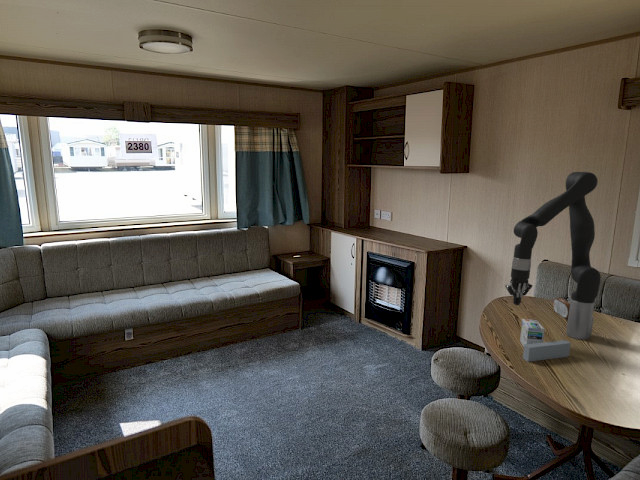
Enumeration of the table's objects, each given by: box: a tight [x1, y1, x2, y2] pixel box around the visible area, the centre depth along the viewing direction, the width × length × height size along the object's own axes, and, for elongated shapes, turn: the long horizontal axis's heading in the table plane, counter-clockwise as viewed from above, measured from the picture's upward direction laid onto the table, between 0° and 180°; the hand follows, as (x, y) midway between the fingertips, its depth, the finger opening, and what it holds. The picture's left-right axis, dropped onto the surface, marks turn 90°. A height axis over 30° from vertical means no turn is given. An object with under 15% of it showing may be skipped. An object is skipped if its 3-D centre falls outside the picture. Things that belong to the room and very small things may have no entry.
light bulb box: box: [519, 318, 546, 348], centre depth 186 cm, size 11×7×11 cm, turn 168°
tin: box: [552, 297, 570, 320], centre depth 223 cm, size 15×3×8 cm, turn 179°
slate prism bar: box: [522, 339, 571, 363], centre depth 176 cm, size 20×3×6 cm, turn 105°
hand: (516, 304), depth 194 cm, fingers closed
